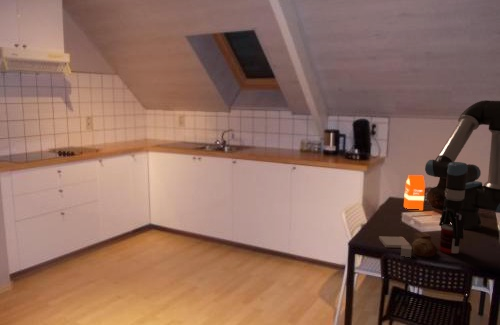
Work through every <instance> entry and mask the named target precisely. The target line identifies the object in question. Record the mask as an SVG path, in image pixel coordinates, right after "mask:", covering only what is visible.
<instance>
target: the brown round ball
mask: <svg viewBox="0 0 500 325" xmlns="http://www.w3.org/2000/svg"><path fill="white" fill-rule="evenodd" d="M419 238H421V239H427V240H429V241H431V242H432V236H431V235H430V234H428V233H426V232H424V231H423V232H414V235H413V242H414V241H415V240H416V239H419Z"/></svg>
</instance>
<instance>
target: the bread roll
mask: <svg viewBox="0 0 500 325" xmlns="http://www.w3.org/2000/svg"><path fill="white" fill-rule="evenodd" d="M410 245H411V246H412V250H411V254H414V255H416V256H417V257H422V258H423V257H427V258H429V257H434V256H435V255H436V252H437V246H435V244H434V243H433V242H432V240H431V241H429V240H427V239H421V238H419V239H416V240H415V241H414V240H413V242H412V243H411V244H410Z"/></svg>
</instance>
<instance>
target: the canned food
mask: <svg viewBox="0 0 500 325" xmlns="http://www.w3.org/2000/svg"><path fill="white" fill-rule="evenodd" d="M452 237H454V234H453V227H452V225H451V224H444V225H442V227H441V226H440V237H439V247H438V248H439V251H440V252H441V253H444V254H448V255H456V254H458V253H451V250H452V240H453V238H452Z"/></svg>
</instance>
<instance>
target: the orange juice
mask: <svg viewBox="0 0 500 325" xmlns="http://www.w3.org/2000/svg"><path fill="white" fill-rule="evenodd" d="M407 176H408V177H407V179H406V181H405V188H404V197H403V198H404V199H403V208H405V209H406V208H407V209H419V210H418V211H423V210H424V202H425V193H426V192H425V189H426V182H425V177H424V175H421V174H419V175H416V174H412V175H411V174H408V175H407ZM407 209H406V210H407Z"/></svg>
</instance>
